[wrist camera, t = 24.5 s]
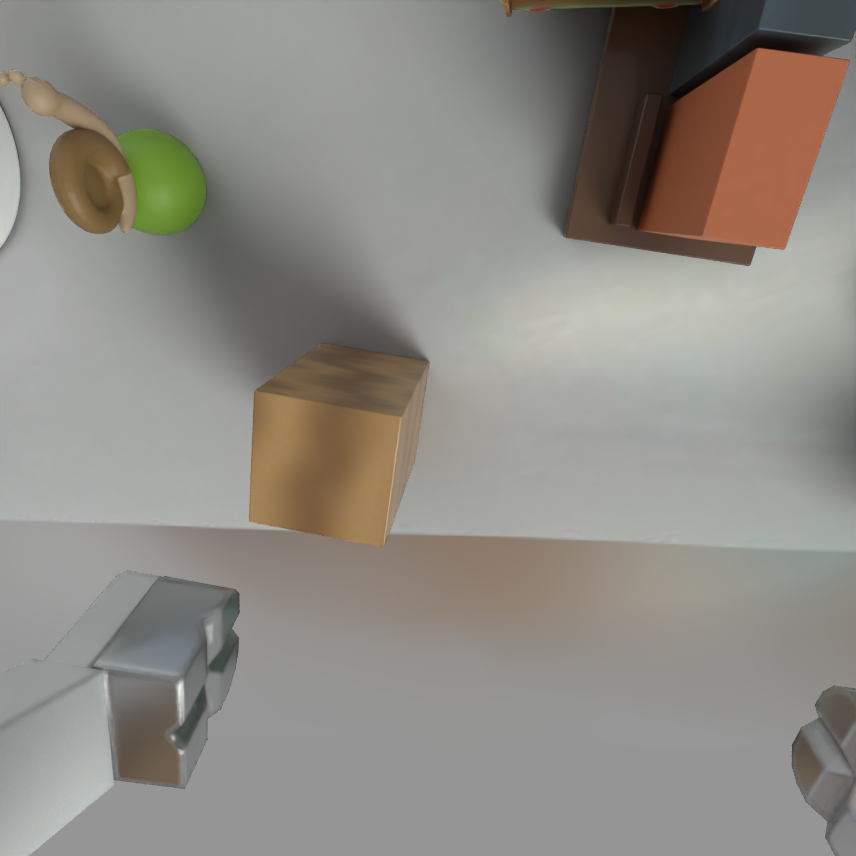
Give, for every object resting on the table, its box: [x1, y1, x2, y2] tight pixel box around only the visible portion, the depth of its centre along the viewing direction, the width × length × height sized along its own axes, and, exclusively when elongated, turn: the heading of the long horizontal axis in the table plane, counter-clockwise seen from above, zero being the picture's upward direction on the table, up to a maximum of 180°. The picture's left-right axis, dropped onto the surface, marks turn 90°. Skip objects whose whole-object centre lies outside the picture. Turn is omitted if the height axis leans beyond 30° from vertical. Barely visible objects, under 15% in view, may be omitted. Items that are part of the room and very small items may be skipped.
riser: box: [249, 343, 429, 547], centre depth 33 cm, size 7×7×11 cm
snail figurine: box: [0, 69, 207, 235], centre depth 29 cm, size 5×6×12 cm
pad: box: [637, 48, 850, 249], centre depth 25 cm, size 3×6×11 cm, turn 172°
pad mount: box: [563, 0, 856, 266], centre depth 25 cm, size 10×14×12 cm
